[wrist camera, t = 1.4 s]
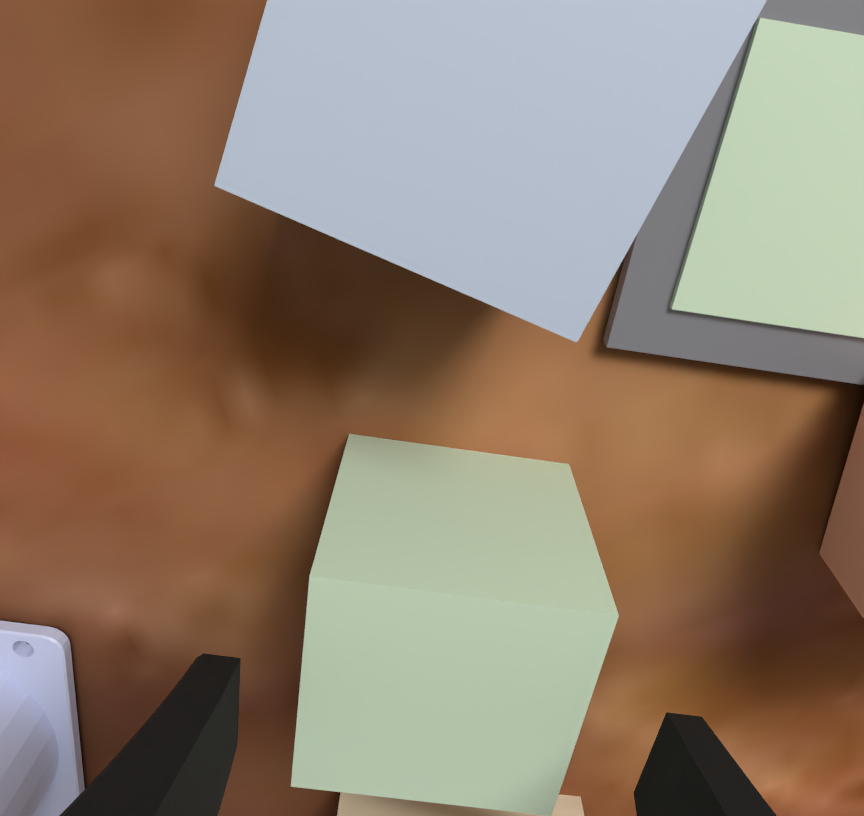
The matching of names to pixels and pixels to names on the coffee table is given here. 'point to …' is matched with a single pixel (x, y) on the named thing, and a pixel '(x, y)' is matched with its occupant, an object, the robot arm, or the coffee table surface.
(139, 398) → the coffee table surface
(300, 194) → the slate blue cube
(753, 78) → the tile
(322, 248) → the coffee table surface
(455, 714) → the sage cube
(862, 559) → the terracotta cube
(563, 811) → the maple slab
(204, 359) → the coffee table surface
